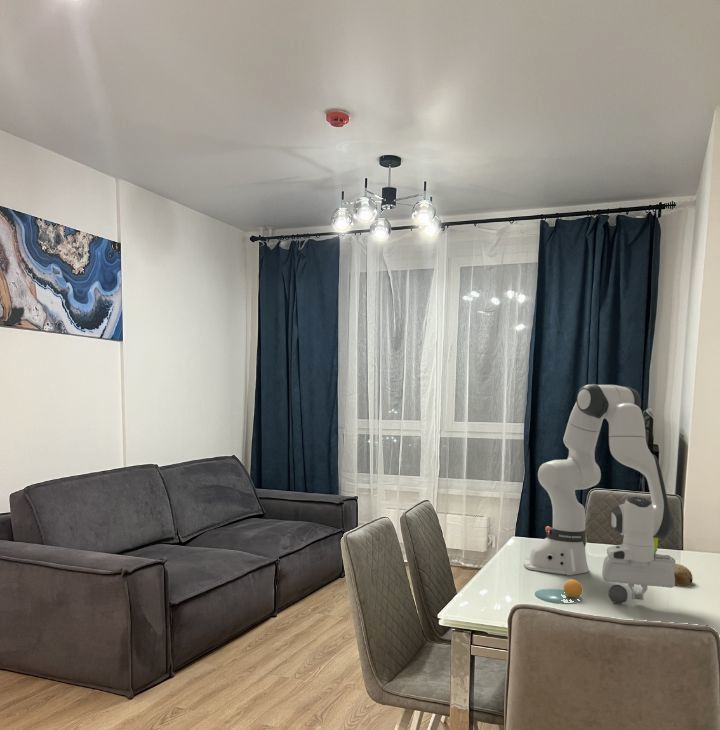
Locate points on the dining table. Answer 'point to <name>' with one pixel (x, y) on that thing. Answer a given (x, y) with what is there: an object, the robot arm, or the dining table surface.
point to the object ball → (572, 588)
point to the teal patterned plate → (554, 595)
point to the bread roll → (682, 576)
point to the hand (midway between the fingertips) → (637, 598)
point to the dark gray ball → (618, 594)
